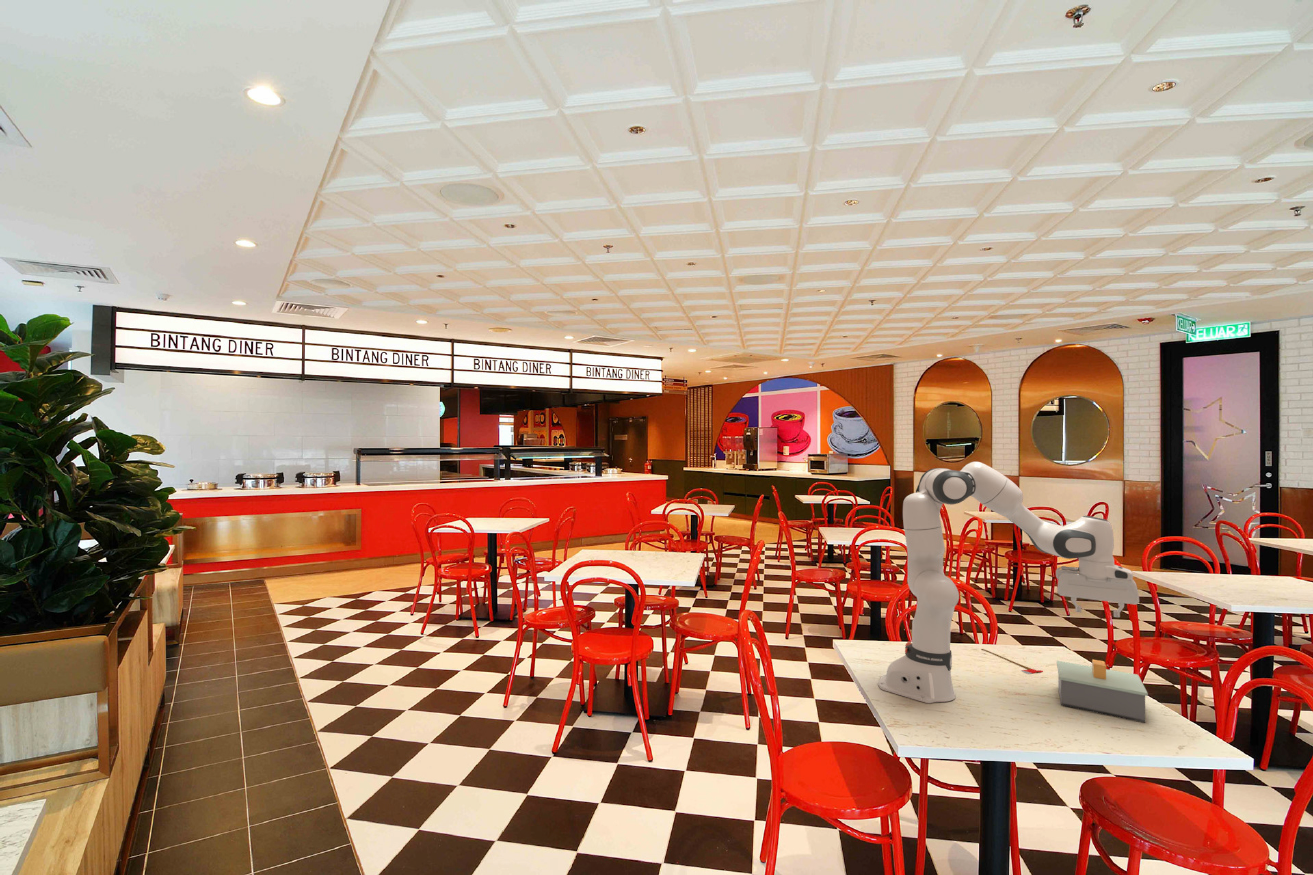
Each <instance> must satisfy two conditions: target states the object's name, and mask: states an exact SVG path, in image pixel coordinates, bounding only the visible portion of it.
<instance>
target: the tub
mask: <svg viewBox="0 0 1313 875" xmlns="http://www.w3.org/2000/svg"><path fill="white" fill-rule="evenodd" d="M1057 676H1058V677H1057V678H1058V680H1057V682H1058V683H1057V685H1058V686H1057V688H1058V695H1059V700H1060V701H1059V702H1060V706H1062V707H1066V708H1071V709H1076V710H1081V711H1085V712H1090V713H1094V714H1100V715H1105V716H1109V717H1113V718H1119V719H1124V720H1127V721H1134V722H1138V723H1143V724H1145V723H1146V696H1145V695H1139V694H1134V693H1129V692H1123V691H1118V690H1113V689H1107V688H1102V687H1097V686H1091V685H1086V684H1081V683H1075V682H1070V681H1065V680H1059V675H1058V674H1057Z"/></svg>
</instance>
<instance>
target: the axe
mask: <svg viewBox="0 0 1313 875" xmlns="http://www.w3.org/2000/svg"><path fill="white" fill-rule="evenodd" d="M980 650H981V651H984V652H987V653H989V654H992V656H996V657H998V658H1000V659H1003V660H1005V661H1007V662H1009V663H1012V664H1014V665H1016V666H1019V667H1021V668H1023V669H1021V672H1023V673H1024V674H1027V675H1032V674H1041V673H1043V672H1044V670H1041V669H1040V670H1039V669H1034V668H1031V667H1028V666H1027V665H1026V666H1025V665H1023V664H1020V663H1018V662H1016V661H1013V660H1011V659H1008V658H1007V657H1006V658H1005V657H1004V656H1001V655H1000V654H996V653H994V652H991V651H990V650H987V649H984V648H981V649H980Z"/></svg>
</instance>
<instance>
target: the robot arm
mask: <svg viewBox="0 0 1313 875" xmlns="http://www.w3.org/2000/svg"><path fill="white" fill-rule="evenodd" d="M961 468H962V469H961V470H953V469H949V468H944V467H941V468H939V467H938V468H937V467H936V468H931V469H928V470H927V471H925V472H924V473H922V475H921V477H920V478H919V482H918V485H917V486H916V487H917V488H916V490H915V492H913V493H911V494H909V495H907V496H906V497H905V498H904V500H903V503H902V520H903V521H902V522H903V531H904V538H905V543H906V551H907V585H908V588H909V590H910V591H911V593H912V594H913V596H915V597H916V599H917V601H916V604H917V605H916V610H915V614H914V618H913V619H912V621H911V623H912V625H911V626H912V627H911V629H912V630H911V631H912V632H911V633H912V634H911V636H912V637H911V641H907V642H906V643H905V648H904V655H903V656H901V657H899V658H897V659H895V660H893V661H892V662H891V663H889V665H888V667H887V670H886V673H885V674H884V675H882V676H881V677H879V679H878V687H879V689H880V690H882V691H886V692H889V693H891V694H892V693H893V694H896V695H899V696H902V697H906V698H908V699H912V700H915V701H920V702H922V703H926V704H932V703H939V702H941V703H943V702H945V703H946V702H950V701H953V700H954V699H956V694H955V690H954V686H953V682H952V681H953V680H952V671H951V670H952V666H953V654H952V650H951V628H952V621H953V616H954V611H955V607H956V606H957V604H958V603H959V599H960V593H959V589H958V588H957V586H956V584H955V583H954V582H953V580H952V579H951V578H950V577H948V576H946V575H945V573H944V554H945V552H946V547H945V541H944V535H943V534H944V533H943V527H942V522H941V517H940V516H941V513H940V512H941V509H942V506H943V505H945V504H946V505H957V504H960V503H962V502H963V501H964V502H965V500H967V499H968V498H970V497H972V498H973V499H975V500H976V501H977V502H979V503H980V504H981V505H983V506H984V507H986V508H987V509H989V510H990V511H992V512H994V513H996V514H997V515H1001V516H1002V517H1005V519H1008V521H1010V522H1011V523H1012V524H1015V526H1017V527H1018V528H1019V529H1020V530H1021V531H1023V532H1024V533H1025V534H1026V535H1027V536H1028V538H1029V539H1030V541H1031V543H1032V545H1033V546H1034V548H1036V549H1037V550H1038V551H1039V552H1041V553H1044V554H1048V555H1054V556H1056V557H1059V558H1062V559H1067V560H1068V559H1069V560H1072V559H1073V560H1074V559H1078V566H1077V567H1075V566H1065V565H1063V566H1060V567H1058V568H1056V570H1055V577H1056V579H1057V594H1058V595H1059V596H1062V597H1070V602H1072V605H1073V606H1074V607H1075V608H1074V609H1075V612H1076V613H1082V606H1081V605H1078V603H1077V599H1084V600H1092V601H1093V600H1094V601H1102V602H1108V603H1109V602H1112V603H1117V605H1118V608H1117V609H1113V617H1114V618H1120V617H1121V612H1122V610H1123V609H1124V607H1125V604H1127V605H1129V604H1130V605H1134V606H1135V605H1138V604H1139V603H1140V594H1139V590H1138V586H1137V583H1136V581H1135V580H1134V573H1133V571H1132V570H1131V569H1129V568H1125V567H1122V566H1120V565H1117V564H1115V558H1114V555H1113V551H1114V549H1115V542H1114V541H1115V540H1114V531H1113V527H1112V524H1111V522H1110V521H1109V520H1107V519H1105V518H1100V517H1094V516H1090V515H1082V516H1080V517H1079V518H1078V519H1077V520H1075V521H1073V522H1071V523H1069V524H1064V525H1059V524H1056V523H1054V522H1050V521H1046V520H1043V519H1041V518H1040V517H1039V516H1037V515H1036V513H1033V512H1032V511H1031V510H1029V509H1028V508H1027V507H1026V506H1025V505H1024V503H1023V501H1024V493H1023V491H1022V490H1021V489H1020V487H1018V485H1017V484H1016V483H1015V482H1013V481H1012V480H1011V479H1009V477H1007V476H1006V475H1004V474H1002V473H1001V472H999V471H998V470H996V469H995V468H993V467H991V466H990V465H987V464H985V463H983V462H980V461H971V462H969V463H967V464H965V466H963V467H961Z"/></svg>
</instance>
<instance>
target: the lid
mask: <svg viewBox="0 0 1313 875" xmlns="http://www.w3.org/2000/svg"><path fill="white" fill-rule="evenodd" d="M1091 665H1092V666H1090V665H1085V664H1079V663H1074V662H1067V661H1062V660H1061V661H1060V660H1056V667H1057V676H1058V675H1059V680H1065V681H1070V682H1075V683H1081V684H1086V685H1091V686H1097V687H1102V688H1107V689H1113V690H1118V691H1123V692H1129V693H1134V694H1139V695H1145V697H1148V695H1149V693H1148V691H1147V689H1146V687H1145V685H1144V684H1143V682H1142V679H1141V677H1140V676H1139V674H1136V673H1131V672H1125V671H1118V670H1113V669H1107V665H1106V662H1105V661H1103V660H1098V659H1091Z"/></svg>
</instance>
